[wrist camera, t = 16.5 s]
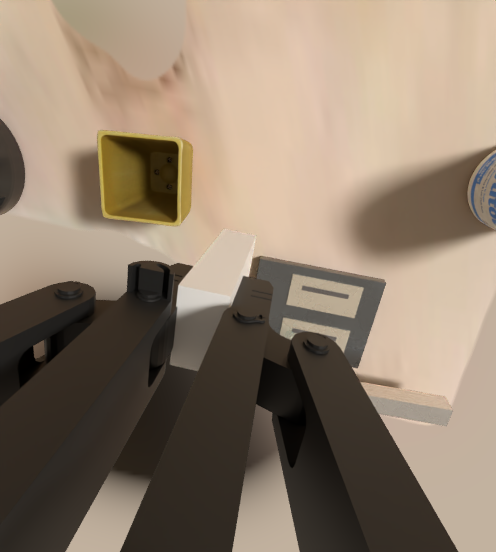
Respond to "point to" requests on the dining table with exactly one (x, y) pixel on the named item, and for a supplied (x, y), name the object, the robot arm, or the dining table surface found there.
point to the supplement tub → (484, 191)
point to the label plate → (322, 303)
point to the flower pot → (144, 177)
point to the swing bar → (409, 404)
